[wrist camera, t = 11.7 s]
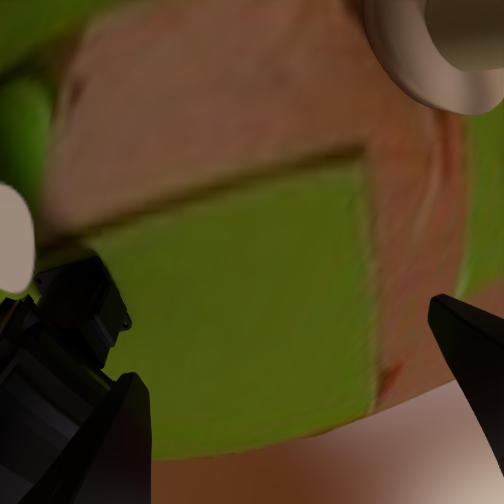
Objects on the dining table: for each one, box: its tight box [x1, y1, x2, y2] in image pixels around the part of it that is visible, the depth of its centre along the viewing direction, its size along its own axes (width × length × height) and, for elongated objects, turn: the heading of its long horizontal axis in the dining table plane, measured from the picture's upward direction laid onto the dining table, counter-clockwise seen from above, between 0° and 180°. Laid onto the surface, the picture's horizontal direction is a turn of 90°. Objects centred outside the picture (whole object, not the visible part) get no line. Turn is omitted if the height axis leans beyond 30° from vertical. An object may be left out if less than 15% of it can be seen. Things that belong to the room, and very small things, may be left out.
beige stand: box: [363, 0, 504, 115], centre depth 14 cm, size 12×12×3 cm
